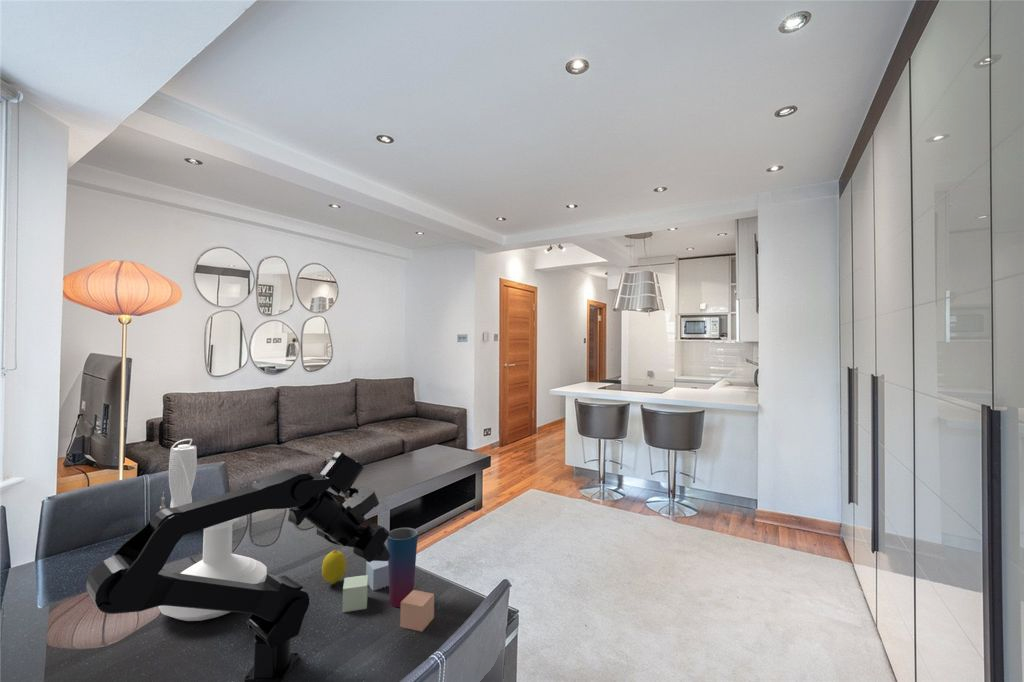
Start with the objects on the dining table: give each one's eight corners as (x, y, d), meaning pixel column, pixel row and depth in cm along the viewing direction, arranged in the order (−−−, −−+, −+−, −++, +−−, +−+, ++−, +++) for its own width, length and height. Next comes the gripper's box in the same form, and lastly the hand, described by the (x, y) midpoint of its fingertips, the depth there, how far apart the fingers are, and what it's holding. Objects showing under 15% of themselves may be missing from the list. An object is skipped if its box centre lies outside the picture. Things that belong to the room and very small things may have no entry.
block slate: (393, 584, 105) (393, 563, 105) (373, 591, 102) (373, 569, 102) (385, 576, 109) (386, 556, 109) (365, 582, 106) (366, 561, 106)
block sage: (366, 609, 95) (367, 585, 95) (342, 612, 93) (342, 589, 93) (367, 597, 99) (367, 574, 100) (344, 600, 98) (344, 577, 98)
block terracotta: (422, 632, 87) (422, 606, 87) (400, 627, 88) (400, 602, 89) (433, 617, 92) (434, 593, 92) (413, 613, 93) (413, 589, 93)
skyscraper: (172, 524, 142) (176, 438, 143) (200, 523, 143) (203, 437, 145) (156, 534, 134) (160, 443, 135) (185, 533, 135) (189, 442, 136)
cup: (383, 596, 99) (384, 530, 100) (413, 590, 102) (414, 525, 103) (388, 612, 93) (389, 541, 94) (419, 605, 96) (420, 536, 97)
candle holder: (135, 639, 84) (140, 538, 85) (183, 587, 103) (187, 505, 104) (251, 623, 89) (255, 528, 90) (276, 576, 108) (279, 498, 109)
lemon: (337, 591, 102) (338, 556, 102) (316, 588, 103) (317, 554, 103) (350, 579, 107) (351, 546, 108) (330, 577, 108) (331, 544, 109)
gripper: (381, 487, 84) (425, 528, 92) (331, 471, 95) (374, 508, 103) (342, 541, 77) (393, 580, 85) (294, 517, 89) (342, 553, 97)
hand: (375, 552), depth 93 cm, fingers open, 9 cm apart
